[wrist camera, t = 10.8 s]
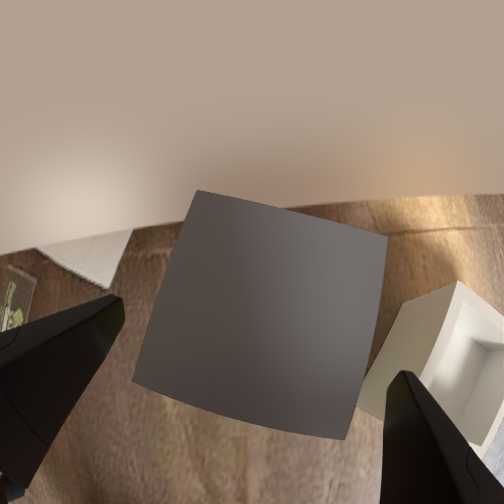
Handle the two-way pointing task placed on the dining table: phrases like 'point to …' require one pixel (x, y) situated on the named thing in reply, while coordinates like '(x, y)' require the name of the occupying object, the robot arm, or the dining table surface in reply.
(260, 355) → the plug
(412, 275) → the dining table surface
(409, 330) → the upper socket
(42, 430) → the robot arm
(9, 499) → the black water bottle
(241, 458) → the dining table surface
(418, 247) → the dining table surface
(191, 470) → the dining table surface
